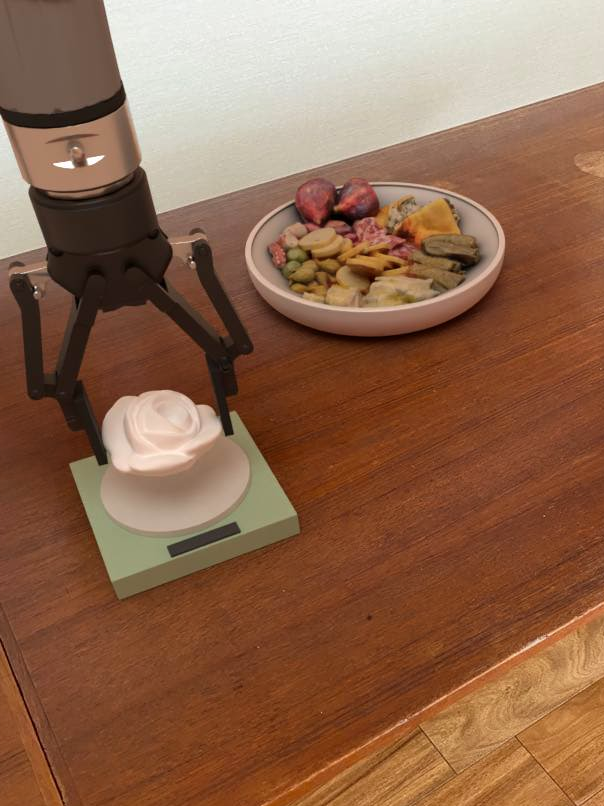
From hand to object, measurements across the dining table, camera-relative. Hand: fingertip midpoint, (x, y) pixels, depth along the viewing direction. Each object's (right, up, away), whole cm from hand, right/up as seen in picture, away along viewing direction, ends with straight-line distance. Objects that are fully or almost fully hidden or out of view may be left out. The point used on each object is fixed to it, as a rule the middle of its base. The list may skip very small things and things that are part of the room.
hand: (165, 440), depth 72 cm
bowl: (+17, +23, +32) cm, 43 cm away
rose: (0, 0, 0) cm, 0 cm away
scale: (0, -5, +6) cm, 8 cm away
